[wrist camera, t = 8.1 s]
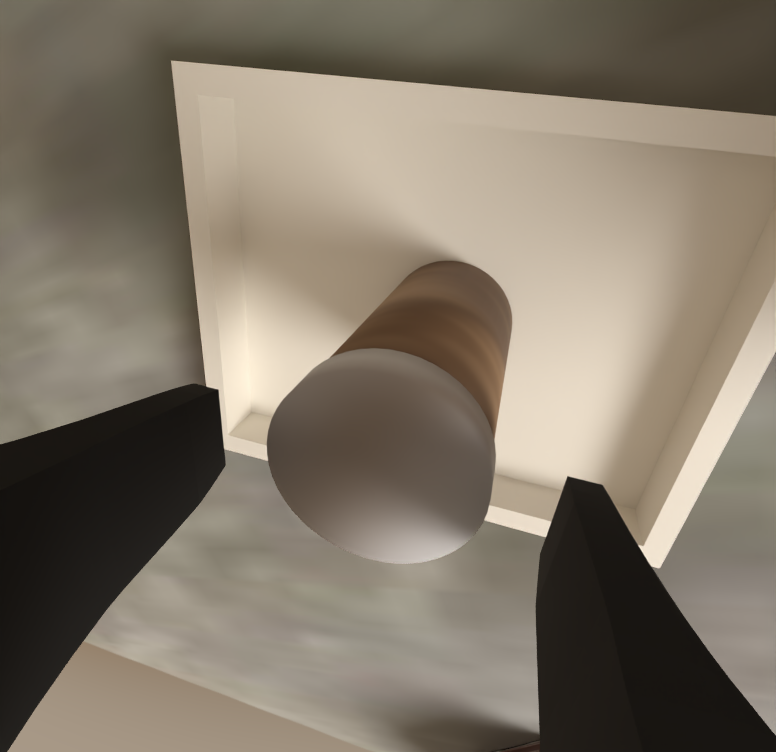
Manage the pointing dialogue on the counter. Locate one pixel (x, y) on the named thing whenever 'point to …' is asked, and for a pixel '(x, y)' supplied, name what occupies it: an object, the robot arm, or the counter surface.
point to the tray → (494, 264)
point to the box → (525, 748)
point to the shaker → (401, 421)
